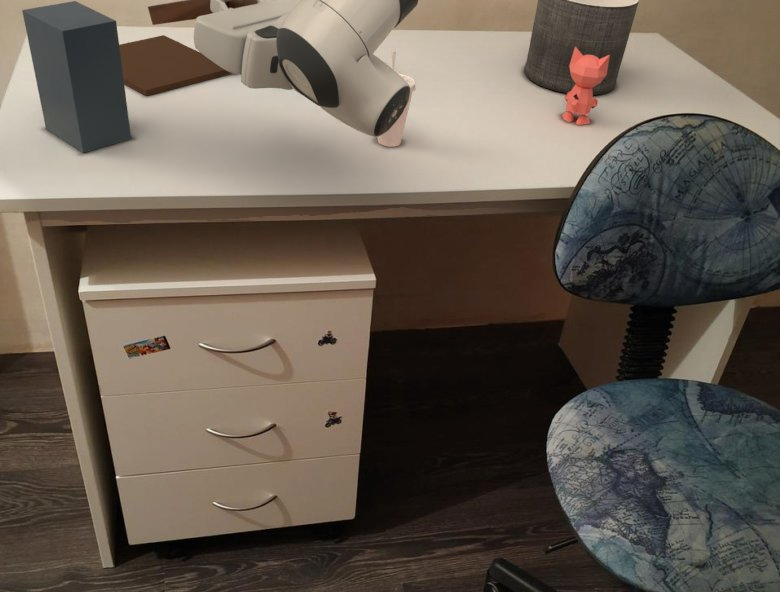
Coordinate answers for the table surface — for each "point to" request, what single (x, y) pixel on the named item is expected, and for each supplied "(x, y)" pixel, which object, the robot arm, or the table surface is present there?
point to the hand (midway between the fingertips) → (225, 0)
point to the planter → (578, 39)
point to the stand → (78, 74)
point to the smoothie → (396, 131)
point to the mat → (164, 65)
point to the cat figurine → (584, 85)
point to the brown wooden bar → (188, 10)
